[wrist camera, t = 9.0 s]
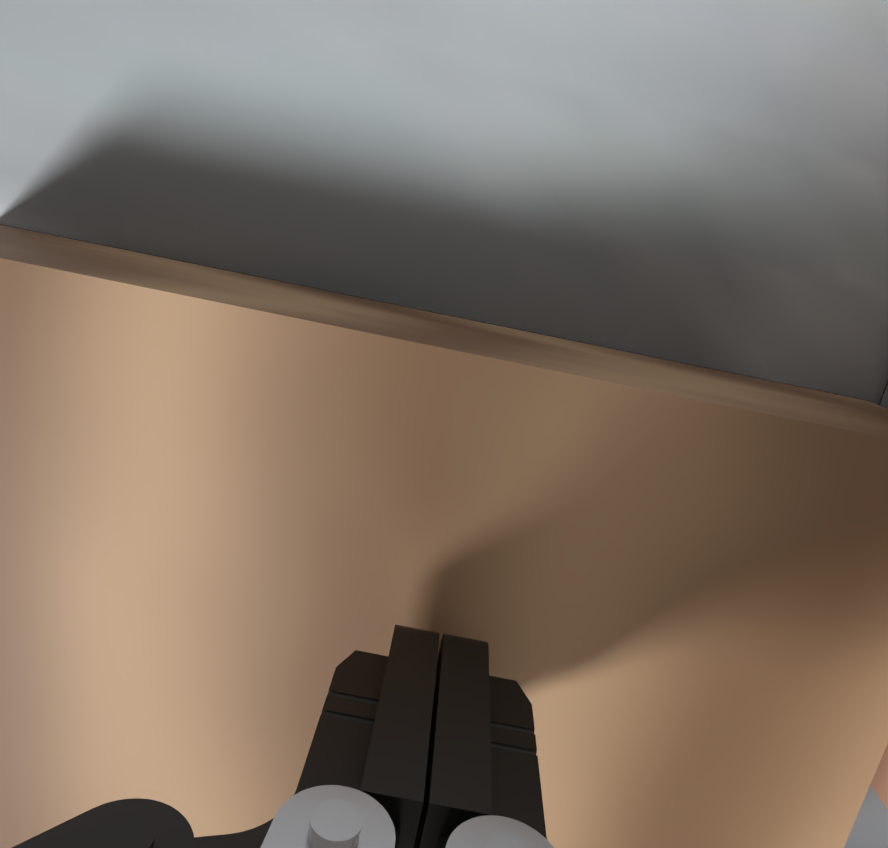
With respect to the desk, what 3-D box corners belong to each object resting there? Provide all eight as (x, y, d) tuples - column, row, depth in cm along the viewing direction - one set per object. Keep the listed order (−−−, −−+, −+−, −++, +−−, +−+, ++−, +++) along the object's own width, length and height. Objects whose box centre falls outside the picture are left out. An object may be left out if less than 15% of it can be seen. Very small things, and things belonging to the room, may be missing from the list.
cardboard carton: (-24, 688, 18) (-165, 816, 14) (-9, 222, 15) (-185, 220, 11) (711, 839, 18) (775, 1010, 14) (869, 401, 15) (1005, 461, 11)
